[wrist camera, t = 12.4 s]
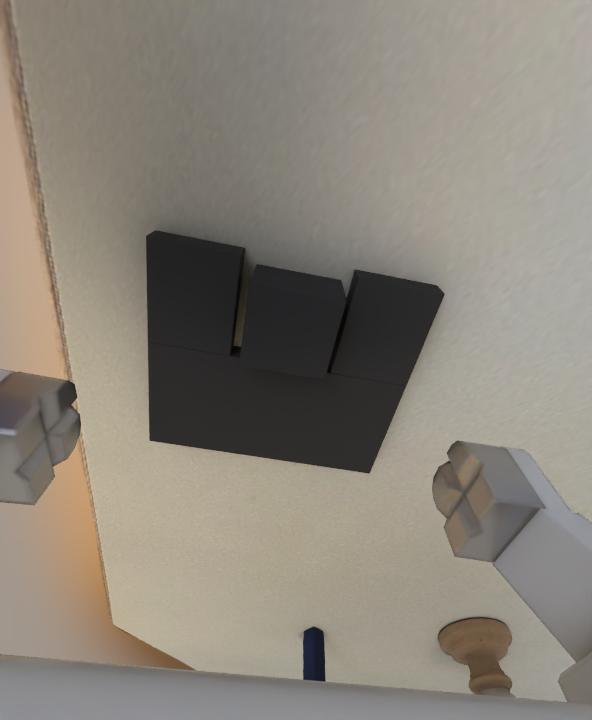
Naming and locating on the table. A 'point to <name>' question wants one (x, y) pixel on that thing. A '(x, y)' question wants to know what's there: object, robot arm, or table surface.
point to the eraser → (313, 655)
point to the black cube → (291, 322)
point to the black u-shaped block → (269, 388)
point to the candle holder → (480, 653)
